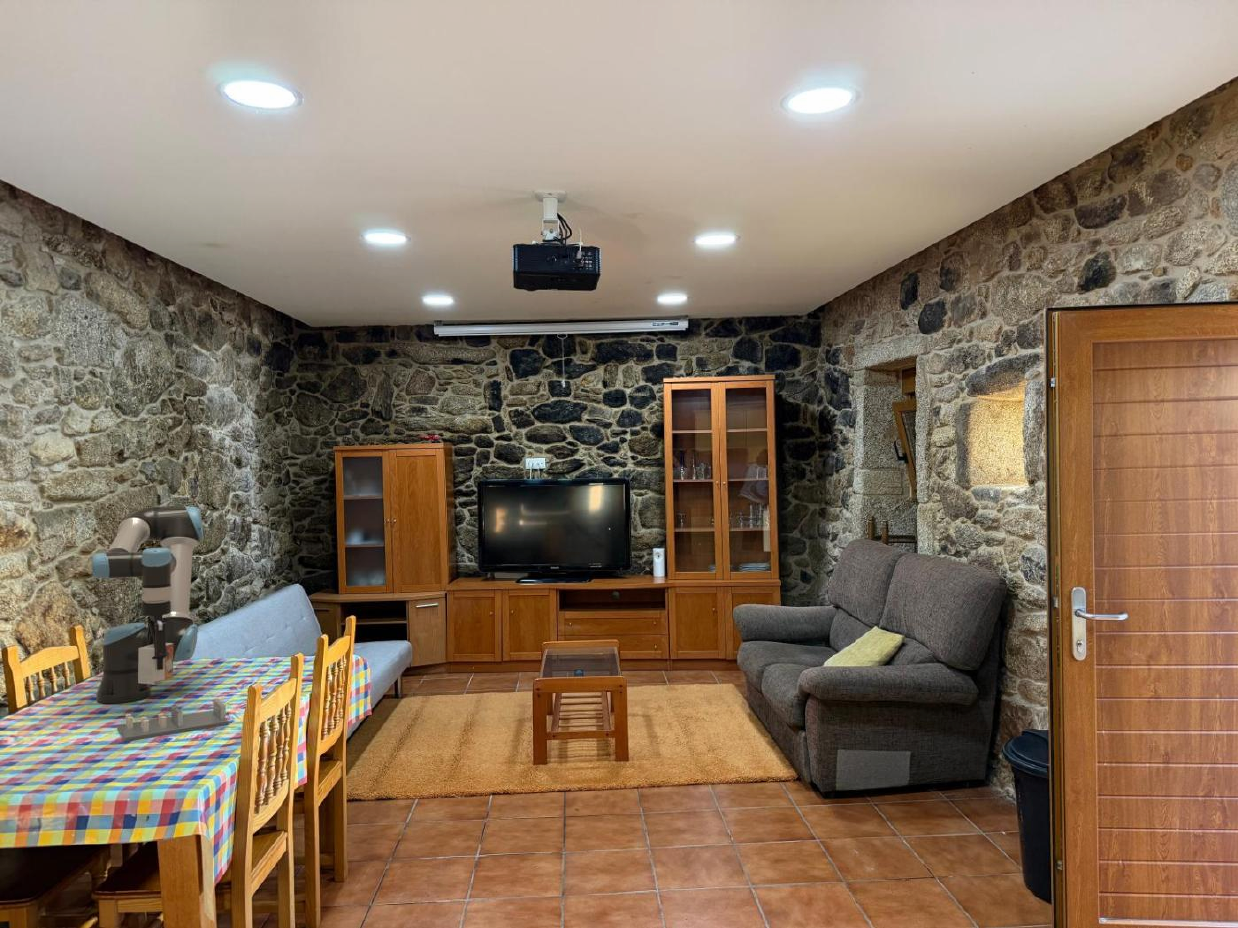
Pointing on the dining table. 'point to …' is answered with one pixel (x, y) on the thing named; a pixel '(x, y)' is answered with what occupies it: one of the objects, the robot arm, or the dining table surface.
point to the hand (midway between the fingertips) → (156, 676)
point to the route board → (167, 725)
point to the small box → (148, 664)
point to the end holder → (218, 710)
